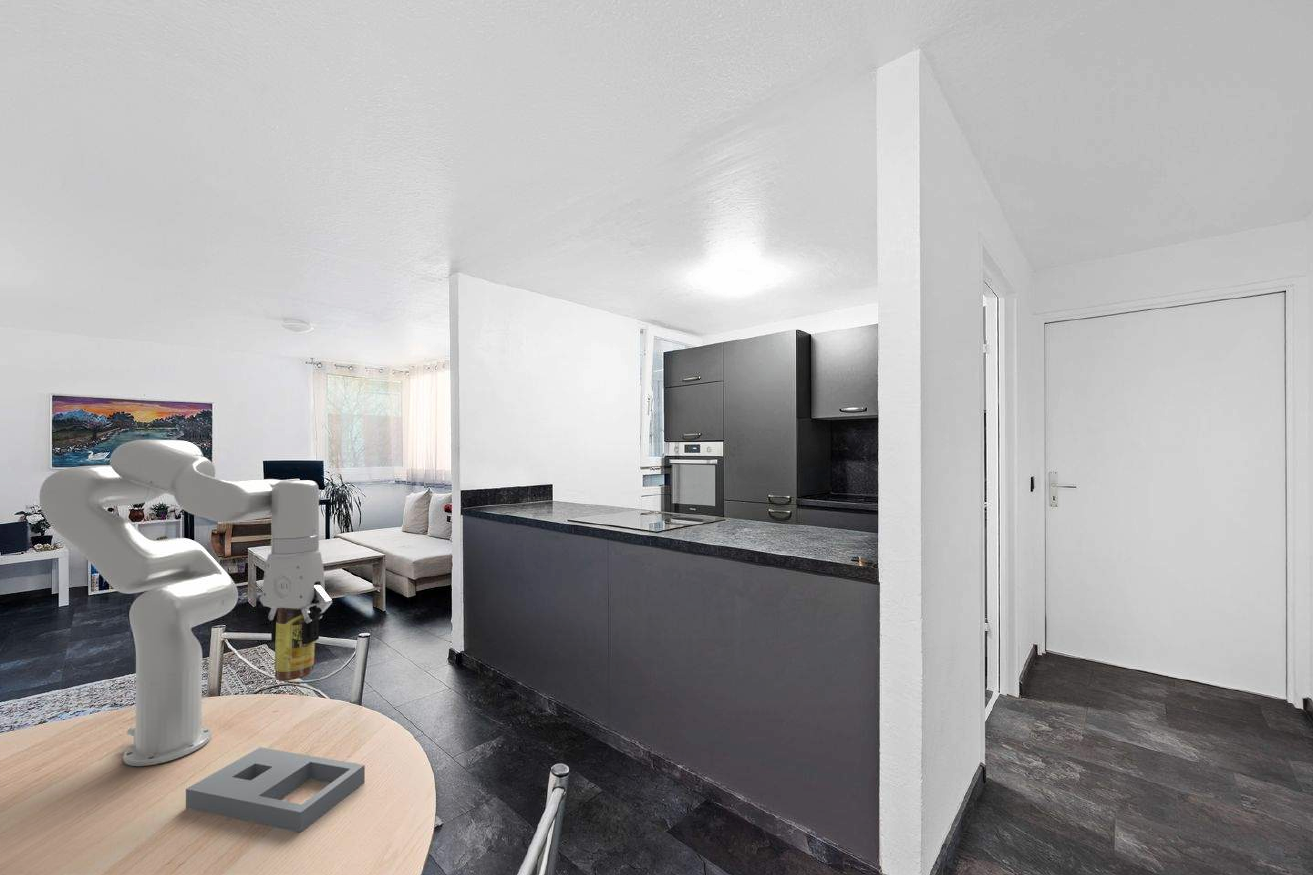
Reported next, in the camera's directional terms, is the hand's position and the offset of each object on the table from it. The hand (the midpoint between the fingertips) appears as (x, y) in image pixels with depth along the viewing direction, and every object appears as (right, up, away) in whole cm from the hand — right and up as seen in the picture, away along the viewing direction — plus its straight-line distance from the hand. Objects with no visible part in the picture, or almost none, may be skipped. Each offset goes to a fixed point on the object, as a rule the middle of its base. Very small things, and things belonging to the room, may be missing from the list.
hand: (295, 639), depth 102 cm
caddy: (+5, -21, -12) cm, 25 cm away
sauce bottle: (0, -7, 0) cm, 7 cm away
